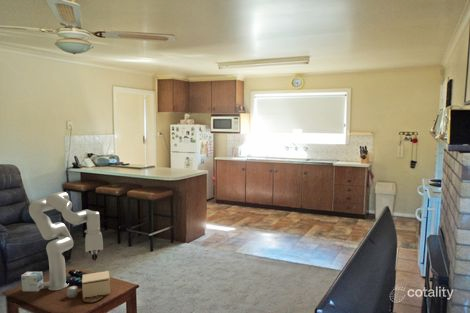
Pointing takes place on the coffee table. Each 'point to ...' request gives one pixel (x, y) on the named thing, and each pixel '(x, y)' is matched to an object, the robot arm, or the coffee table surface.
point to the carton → (96, 288)
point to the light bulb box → (32, 281)
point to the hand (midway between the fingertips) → (94, 259)
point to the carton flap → (95, 277)
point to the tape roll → (72, 291)
